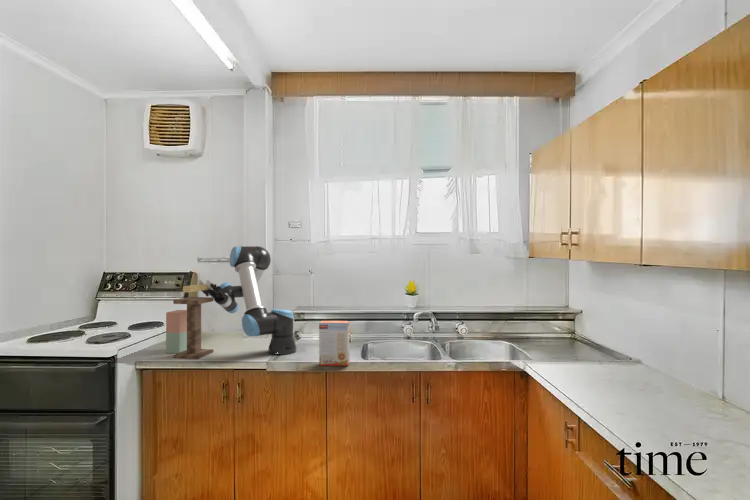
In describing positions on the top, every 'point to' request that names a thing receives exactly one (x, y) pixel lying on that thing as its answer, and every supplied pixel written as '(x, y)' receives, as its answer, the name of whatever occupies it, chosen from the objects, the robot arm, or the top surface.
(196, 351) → the wooden stand
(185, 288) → the brass bar
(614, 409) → the top surface
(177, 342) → the bottom block
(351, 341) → the architectural model
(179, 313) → the top block
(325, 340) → the cracker box
